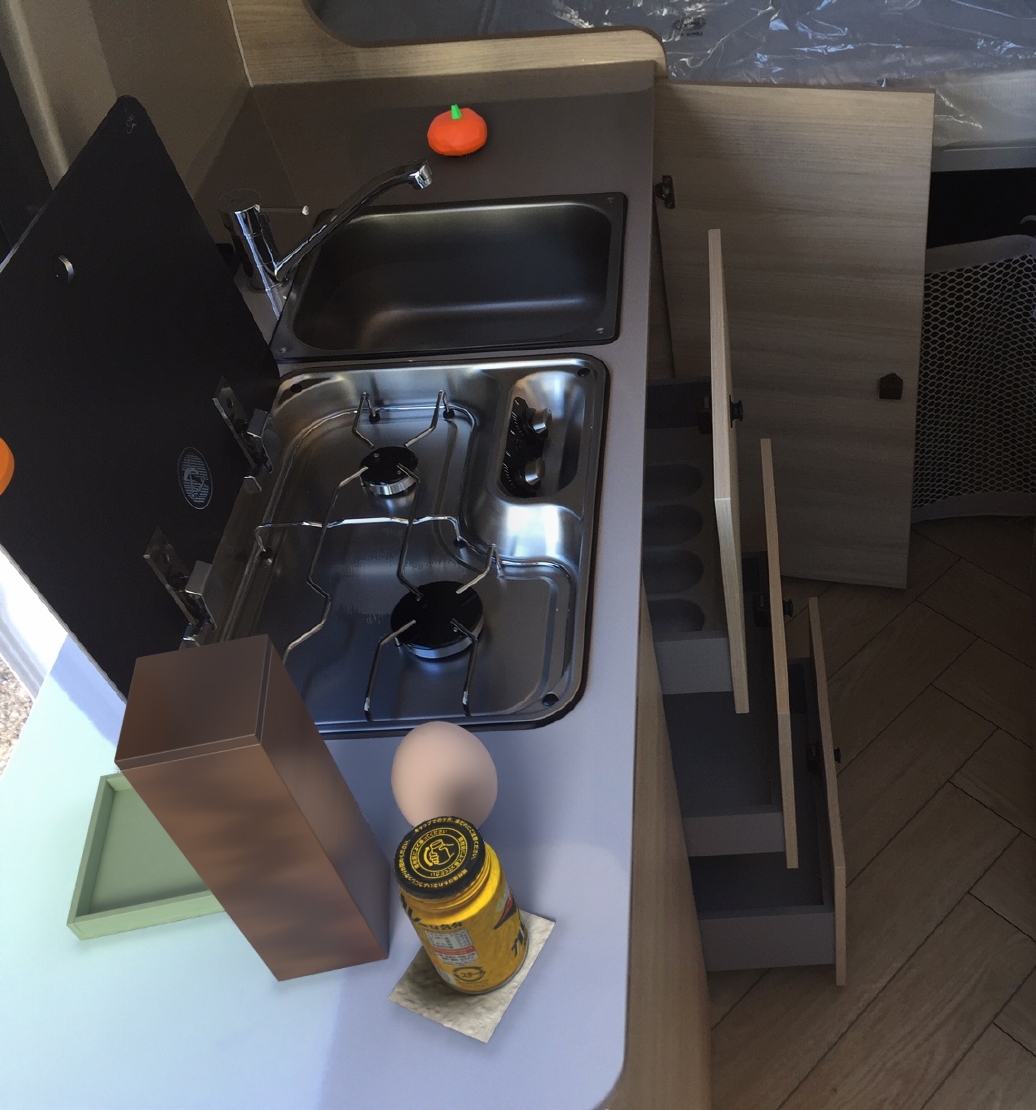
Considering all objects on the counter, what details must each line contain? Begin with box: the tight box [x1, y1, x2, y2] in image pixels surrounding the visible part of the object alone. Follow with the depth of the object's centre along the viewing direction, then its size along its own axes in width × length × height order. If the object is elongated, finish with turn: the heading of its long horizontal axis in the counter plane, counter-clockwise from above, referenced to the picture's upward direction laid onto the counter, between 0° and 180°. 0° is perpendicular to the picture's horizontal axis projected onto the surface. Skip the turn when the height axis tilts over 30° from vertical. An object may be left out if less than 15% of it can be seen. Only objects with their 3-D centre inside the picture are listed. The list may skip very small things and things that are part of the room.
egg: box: [390, 720, 499, 829], centre depth 81 cm, size 7×7×10 cm
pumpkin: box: [426, 103, 488, 158], centre depth 156 cm, size 7×8×6 cm
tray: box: [65, 771, 226, 941], centre depth 84 cm, size 12×12×2 cm
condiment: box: [387, 816, 556, 1044], centre depth 73 cm, size 7×8×12 cm
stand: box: [113, 633, 391, 982], centre depth 71 cm, size 7×7×24 cm
